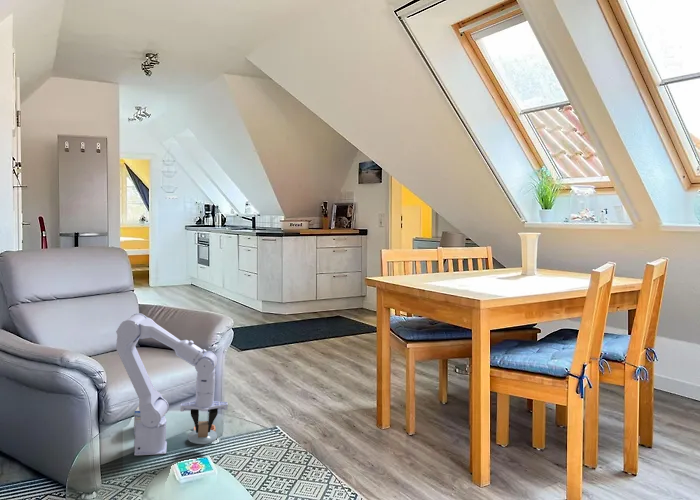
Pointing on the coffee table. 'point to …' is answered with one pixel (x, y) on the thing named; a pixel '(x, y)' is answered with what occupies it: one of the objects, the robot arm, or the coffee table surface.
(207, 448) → the coffee table surface
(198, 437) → the lid
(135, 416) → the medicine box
